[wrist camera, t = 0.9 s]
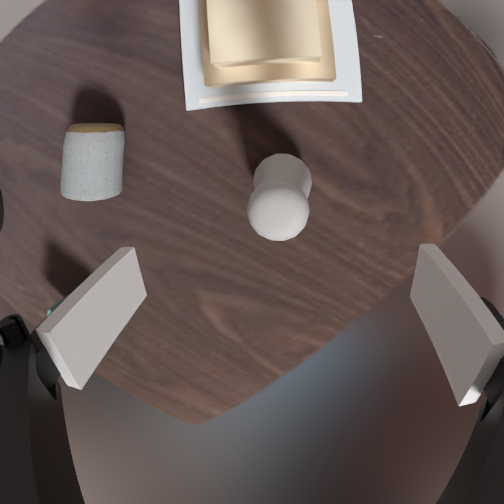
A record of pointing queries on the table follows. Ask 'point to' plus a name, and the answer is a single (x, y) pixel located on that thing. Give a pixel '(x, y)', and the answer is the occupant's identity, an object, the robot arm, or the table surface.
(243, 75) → the birch plinth
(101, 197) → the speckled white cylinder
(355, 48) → the board
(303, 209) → the salt shaker
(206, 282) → the table surface
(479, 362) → the robot arm
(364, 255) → the table surface
